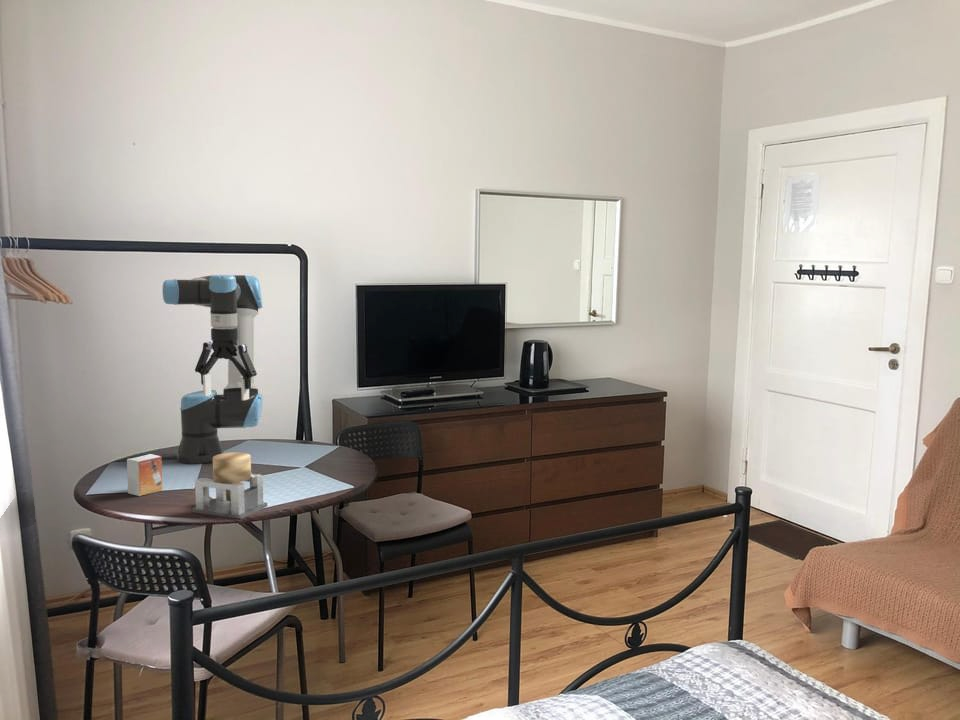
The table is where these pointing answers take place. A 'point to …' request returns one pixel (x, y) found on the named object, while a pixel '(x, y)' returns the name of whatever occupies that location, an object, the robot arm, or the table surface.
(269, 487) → the table surface
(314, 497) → the table surface
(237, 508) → the fork bracket
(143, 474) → the small box
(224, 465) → the mushroom peg
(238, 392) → the robot arm
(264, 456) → the table surface
